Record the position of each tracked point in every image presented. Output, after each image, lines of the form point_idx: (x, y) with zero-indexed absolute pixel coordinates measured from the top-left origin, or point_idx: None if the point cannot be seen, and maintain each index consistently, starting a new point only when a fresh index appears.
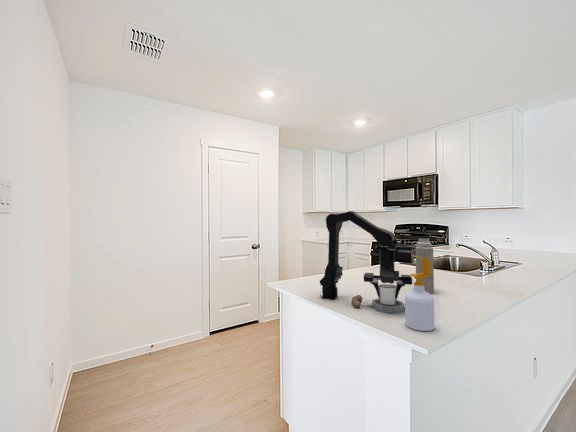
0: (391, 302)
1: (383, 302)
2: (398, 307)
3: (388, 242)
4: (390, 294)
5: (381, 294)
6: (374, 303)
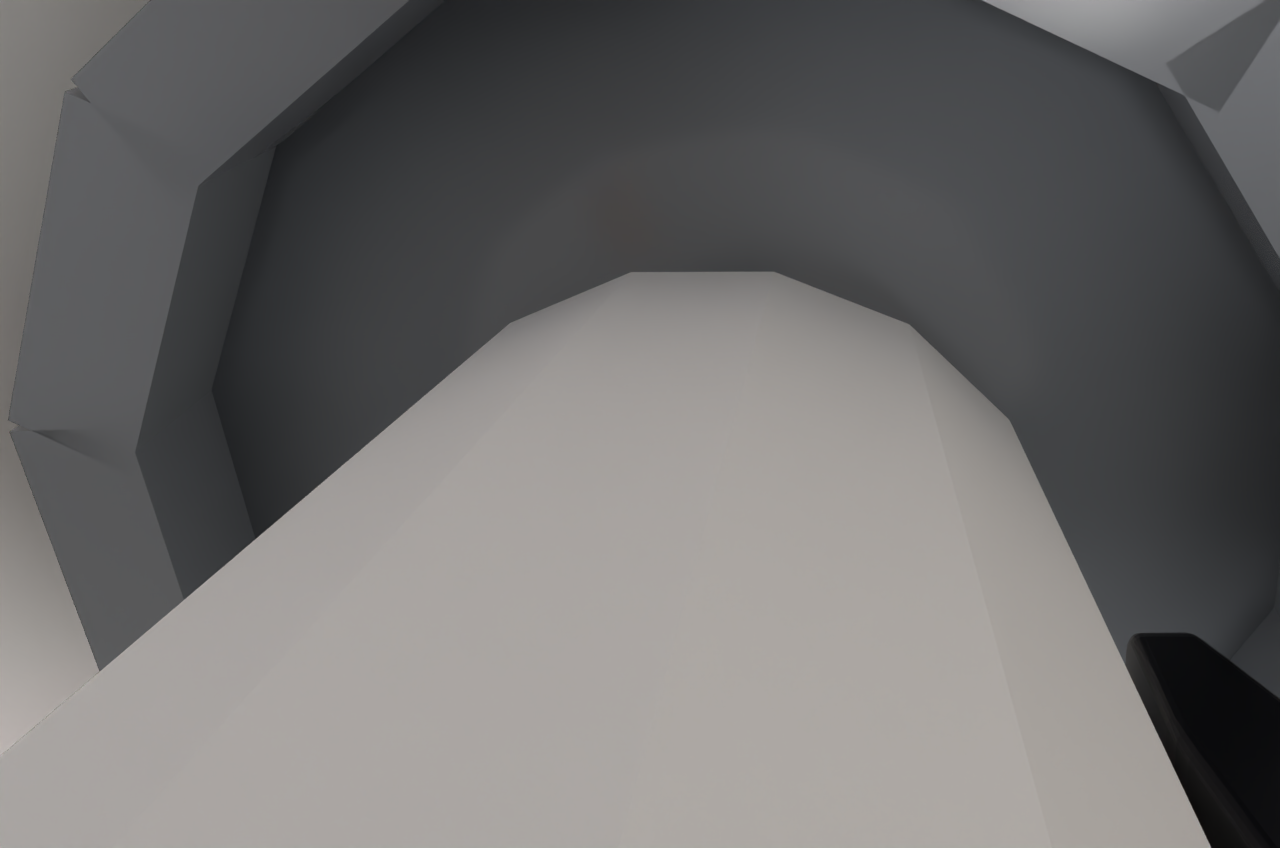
0: (469, 365)
1: (896, 339)
2: (135, 15)
3: None
4: (304, 544)
5: (1064, 640)
6: None
